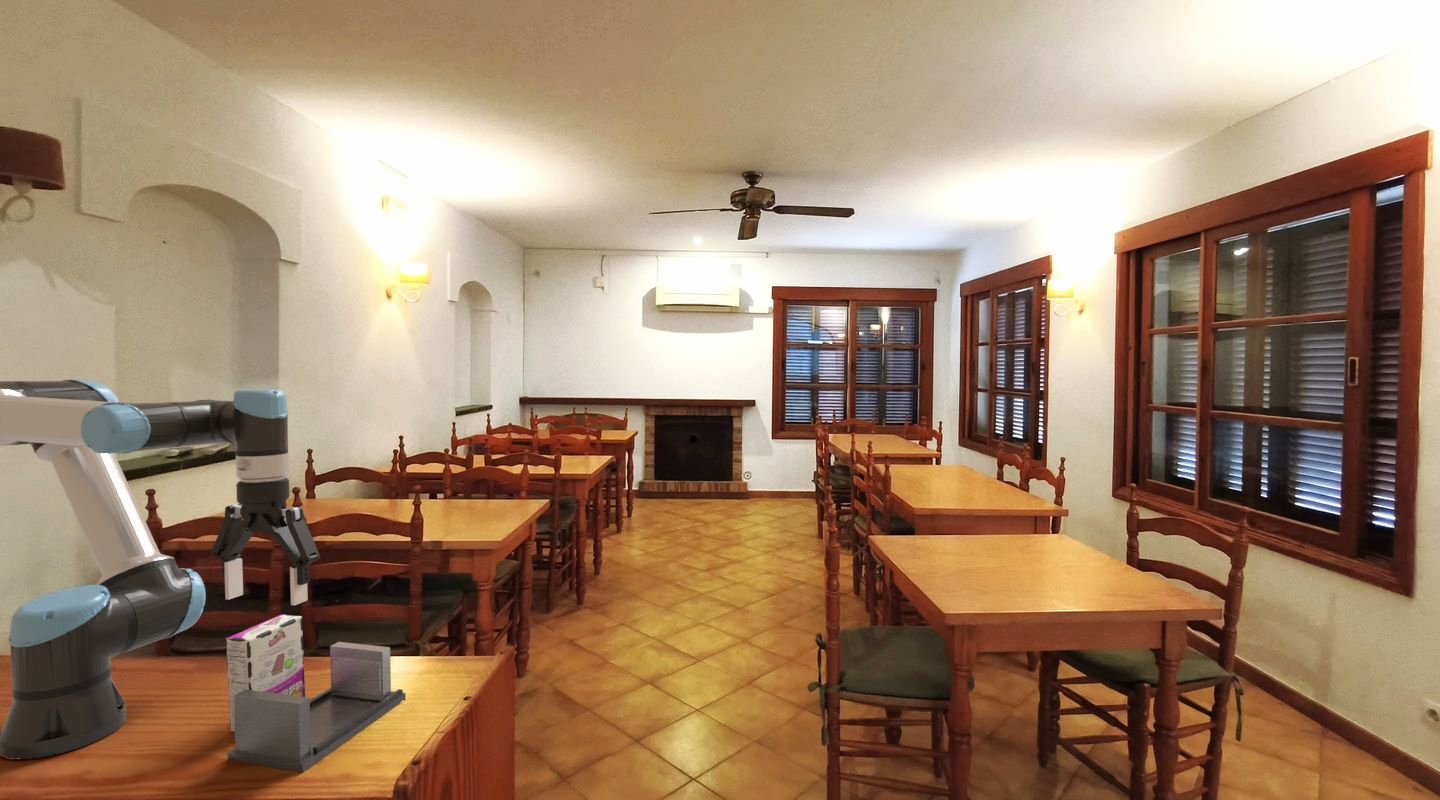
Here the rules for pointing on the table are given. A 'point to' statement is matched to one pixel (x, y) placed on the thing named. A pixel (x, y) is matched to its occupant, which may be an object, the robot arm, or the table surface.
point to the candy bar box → (266, 659)
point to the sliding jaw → (360, 671)
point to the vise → (299, 726)
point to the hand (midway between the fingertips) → (266, 600)
